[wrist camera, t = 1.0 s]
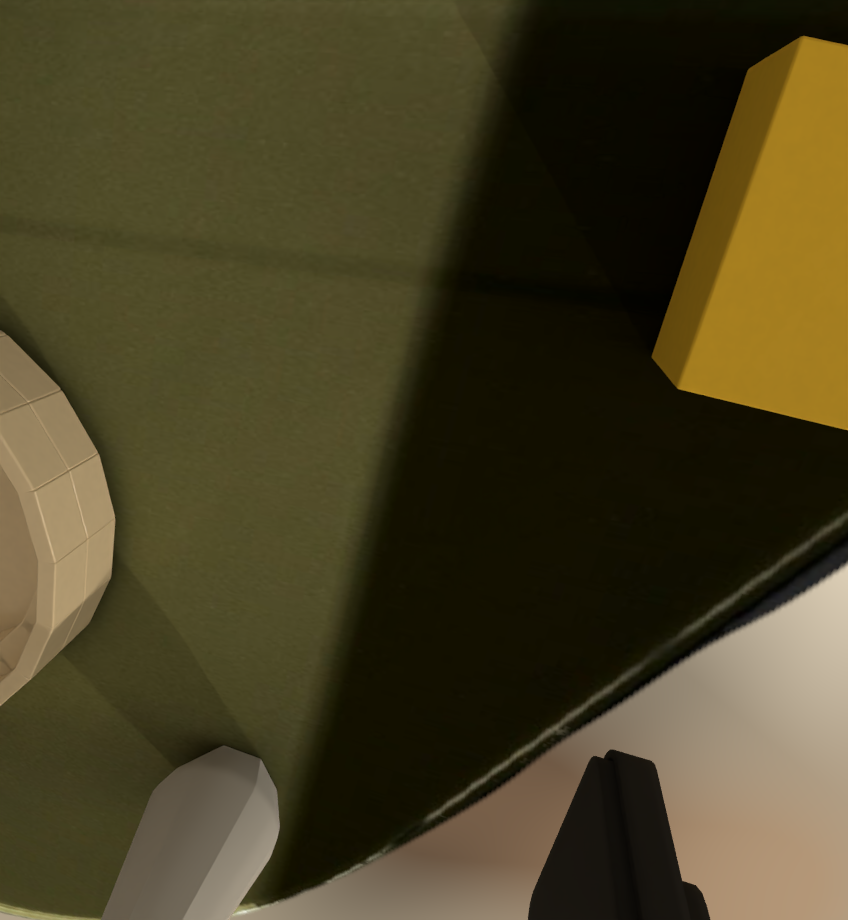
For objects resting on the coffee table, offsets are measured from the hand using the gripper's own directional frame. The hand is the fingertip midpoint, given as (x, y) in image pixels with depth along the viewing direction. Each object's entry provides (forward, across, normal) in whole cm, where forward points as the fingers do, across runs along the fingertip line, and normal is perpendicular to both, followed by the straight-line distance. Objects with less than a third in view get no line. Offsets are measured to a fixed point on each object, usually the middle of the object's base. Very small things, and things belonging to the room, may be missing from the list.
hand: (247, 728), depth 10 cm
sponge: (+18, -10, -8) cm, 22 cm away
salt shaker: (+18, +4, +20) cm, 27 cm away
